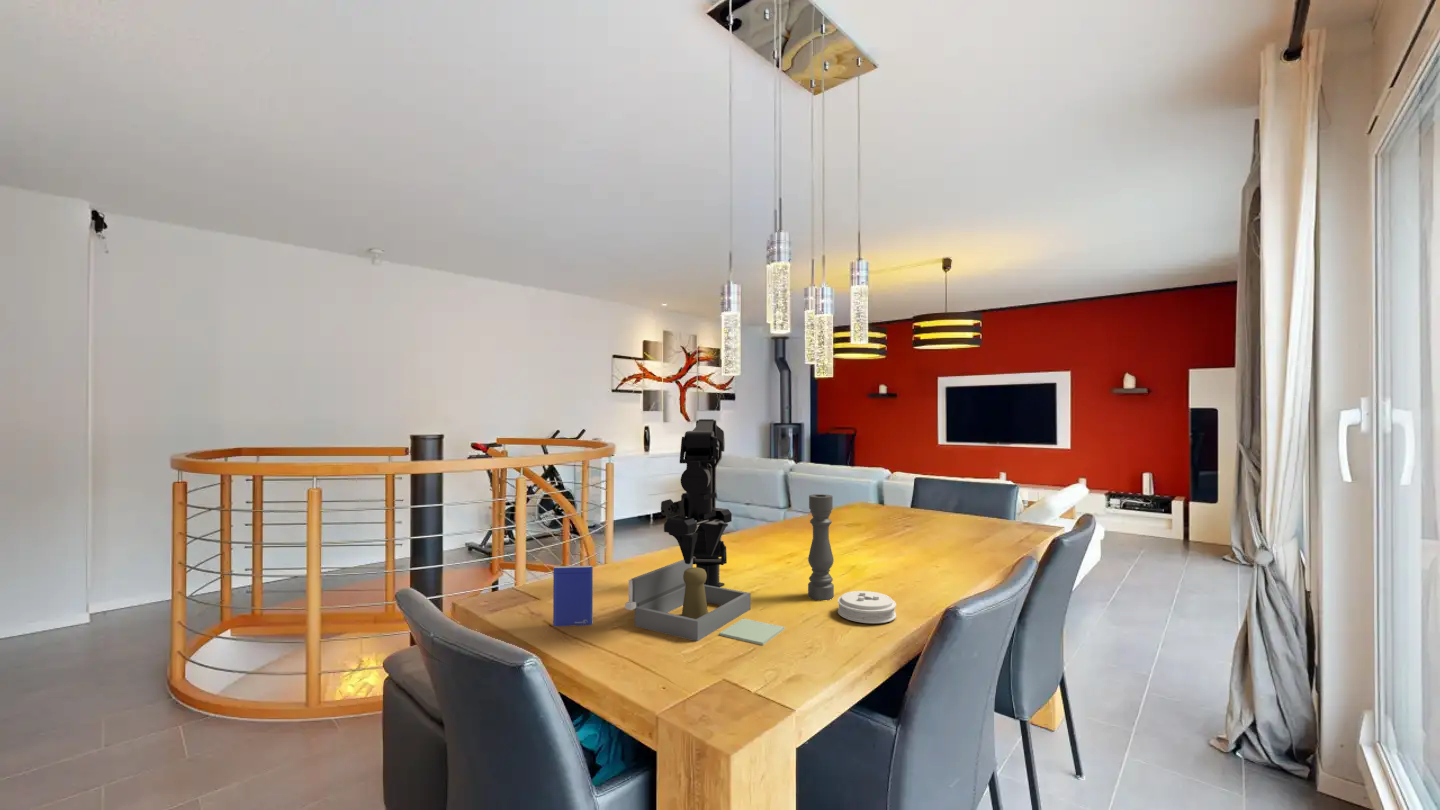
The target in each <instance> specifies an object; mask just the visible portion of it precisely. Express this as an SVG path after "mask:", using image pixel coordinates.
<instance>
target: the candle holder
mask: <svg viewBox="0 0 1440 810" xmlns="http://www.w3.org/2000/svg"><path fill="white" fill-rule="evenodd" d="M833 498H834V497H833V495H831V494H824V493H823V494H822V493H819V494H818V493H817V494H816V493H815V494H809V496H808V509H809V511H810V513H811V516H812V518H811V519H810V520H809V523H810V524H811V526H812V540H811V544H810V548H809V553H808V556H807V562H808V564H809V566H810V567H811V571H812V573H811V574H810V576H809V577H808V579H809V581H810V582H808V583H807V584H808V585H807V597H808V598H809V599H811V600H814V601H818V600H820V602H821V600H827V601H831V600H833V599H834V598H835V597H834V596H835V595H834V593H835V592H834V591H835V588H834V584H833V583H832V582H833V581H834V580H833V577H832V575H831V574H830V572H831V568H832V566H833V564H834V555H833V552H832V546H831V542H830V535H829V534H830V530H829V529H830V525H831V524H832V520H831V519H830V518H829V517H831V514H832V510H833V509H834V507H833V506H834V505H833V503H834V501H833ZM833 597H834V598H833ZM832 598H833V599H832ZM830 599H831V600H830Z"/></svg>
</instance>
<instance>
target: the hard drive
mask: <svg viewBox="0 0 1440 810" xmlns="http://www.w3.org/2000/svg"><path fill="white" fill-rule="evenodd" d="M593 569H594V566H593V565H565V566H563V565H562V566H561V565H560V566H559V565H557V566H553V580H552V581H553V582H552V583H553V598H552V599H553V603H552V605H553V607H552V608H553V613H552V614H553V616H552V617H553V620H552V626H553V627H573V625H577V626H592V625H593V623H594V621H593V620H594V616H593V615H594V611H593V610H594V599H593V598H594V596H593V595H594V590H593V589H594V585H593V584H594V581H593V580H594V574H593V573H594V572H593V571H594V570H593ZM570 625H572V626H570Z"/></svg>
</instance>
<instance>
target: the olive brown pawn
mask: <svg viewBox="0 0 1440 810" xmlns="http://www.w3.org/2000/svg"><path fill="white" fill-rule="evenodd" d="M706 578H707V574H706V571H705V570H704V569H702V568H698V567H696V566H695V567H694V566H693V568H688V569H686V570H685V571H684V574H683V579H684V582H685V583H686V586H685V594H684V602H683V605H682V609H681V610H682V611H681V616H684V617H688V618H693V619H698V618H699V617H701V616H703V615H705V614H707V613H709V612H708V605H707V602H706V594H705V587H704V583H705V582H706Z"/></svg>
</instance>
